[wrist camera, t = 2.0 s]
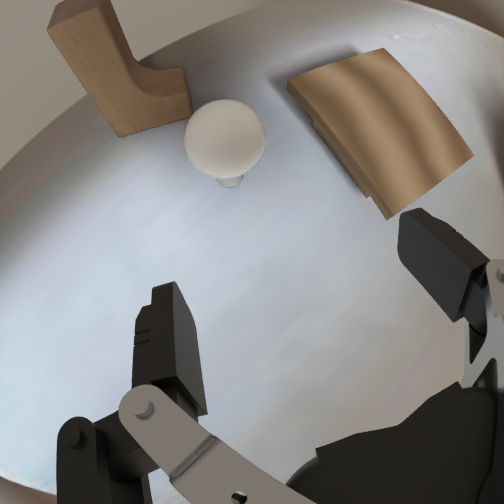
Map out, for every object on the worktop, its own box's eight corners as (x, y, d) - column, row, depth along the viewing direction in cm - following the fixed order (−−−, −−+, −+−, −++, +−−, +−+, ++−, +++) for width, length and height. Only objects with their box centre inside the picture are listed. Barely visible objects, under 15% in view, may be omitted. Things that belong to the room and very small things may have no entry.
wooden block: (188, 89, 32) (158, -36, 15) (194, 118, 32) (160, -14, 14) (117, 110, 32) (54, 3, 14) (118, 139, 31) (44, 31, 14)
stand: (368, 231, 30) (393, 215, 24) (281, 113, 32) (287, 79, 26) (446, 175, 31) (474, 155, 25) (368, 77, 33) (383, 47, 27)
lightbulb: (251, 215, 30) (253, 166, 19) (189, 198, 30) (162, 144, 19) (268, 158, 31) (278, 93, 20) (210, 144, 31) (195, 76, 20)
